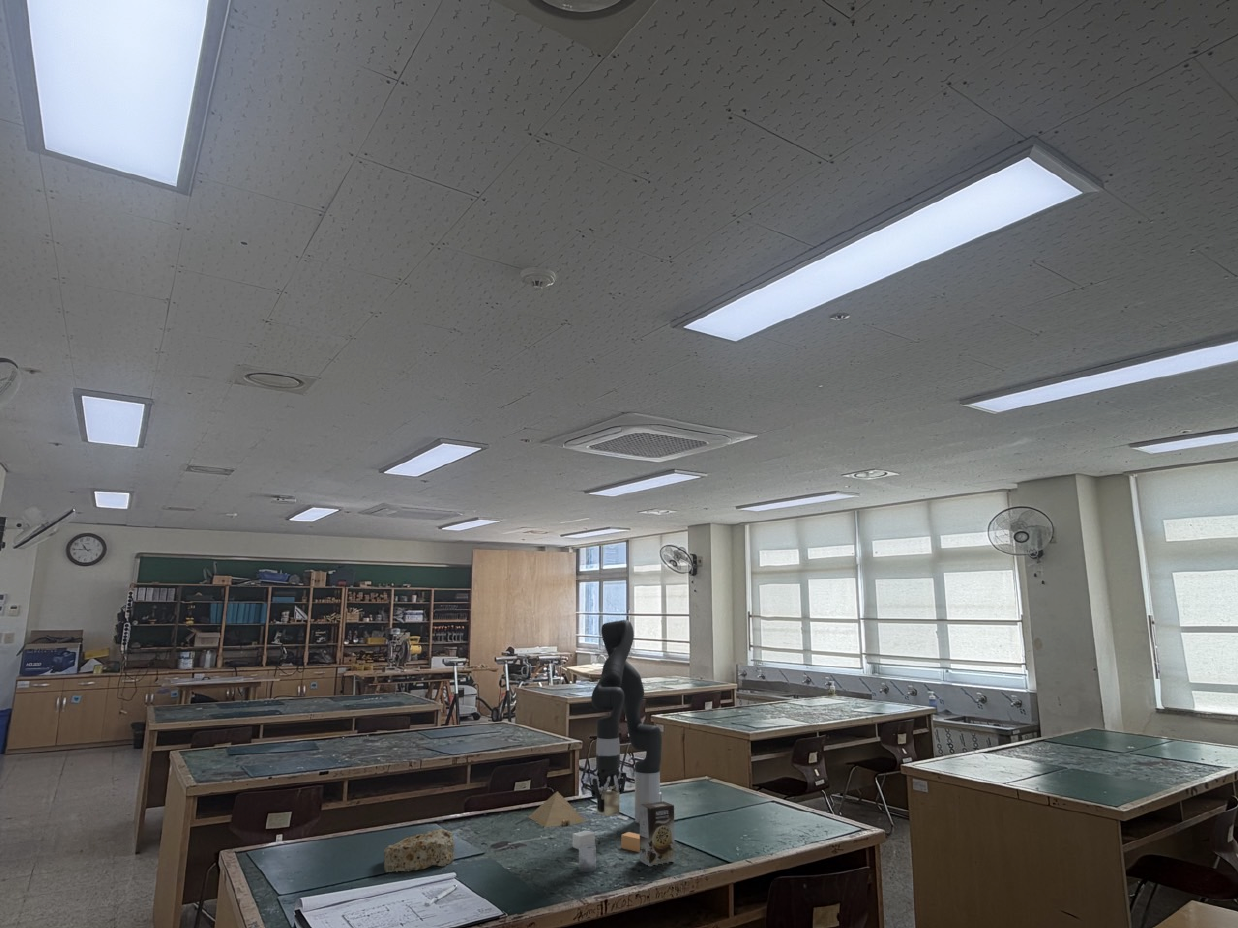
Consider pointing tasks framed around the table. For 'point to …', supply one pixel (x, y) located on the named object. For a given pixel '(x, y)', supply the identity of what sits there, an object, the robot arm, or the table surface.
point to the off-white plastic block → (583, 838)
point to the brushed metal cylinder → (587, 857)
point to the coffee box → (656, 833)
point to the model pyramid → (556, 812)
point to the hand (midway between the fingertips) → (608, 809)
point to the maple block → (610, 803)
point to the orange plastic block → (630, 841)
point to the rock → (420, 851)
